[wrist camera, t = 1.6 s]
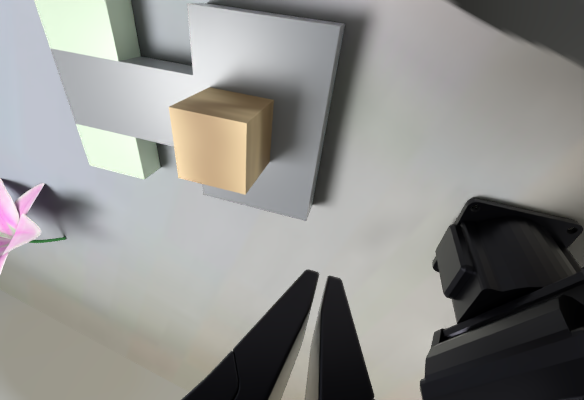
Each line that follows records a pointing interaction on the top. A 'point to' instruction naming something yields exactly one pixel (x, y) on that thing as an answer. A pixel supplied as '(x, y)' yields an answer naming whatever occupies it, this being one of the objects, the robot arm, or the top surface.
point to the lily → (17, 221)
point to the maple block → (222, 138)
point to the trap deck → (197, 87)
